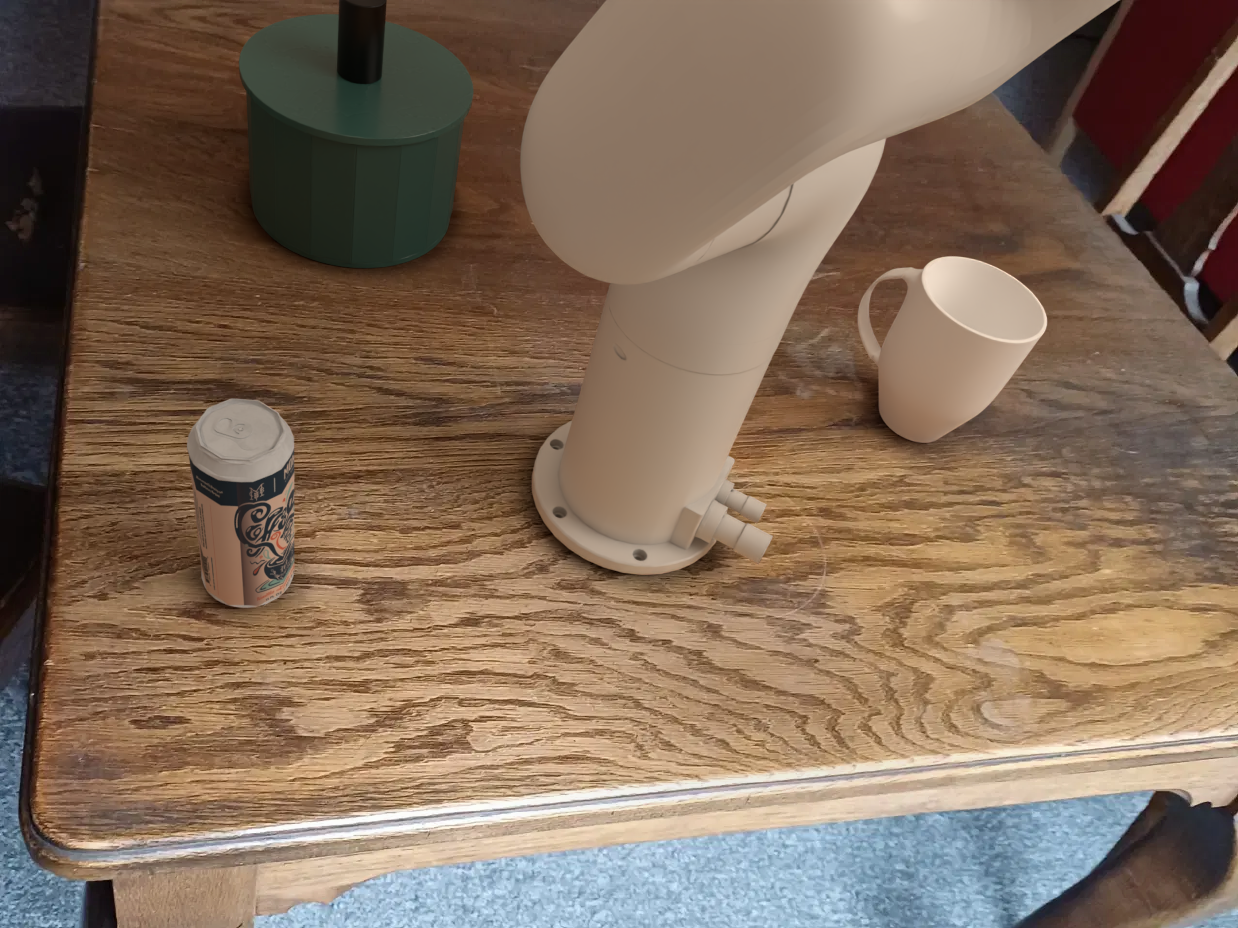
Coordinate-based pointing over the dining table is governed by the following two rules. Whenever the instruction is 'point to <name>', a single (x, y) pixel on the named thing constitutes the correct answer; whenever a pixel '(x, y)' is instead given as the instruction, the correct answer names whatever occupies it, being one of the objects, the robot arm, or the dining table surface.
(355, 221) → the tin
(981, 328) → the mug
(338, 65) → the tin lid
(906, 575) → the dining table surface
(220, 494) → the beer can
